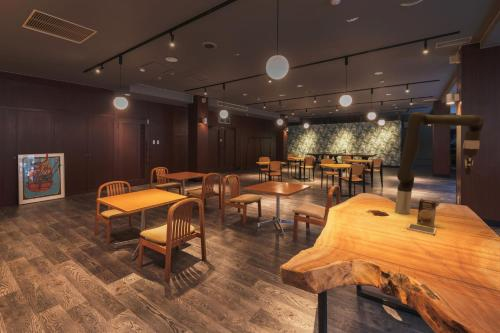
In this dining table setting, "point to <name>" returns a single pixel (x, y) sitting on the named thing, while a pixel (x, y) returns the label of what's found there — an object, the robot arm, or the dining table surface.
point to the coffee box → (426, 213)
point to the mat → (421, 229)
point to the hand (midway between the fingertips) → (467, 173)
